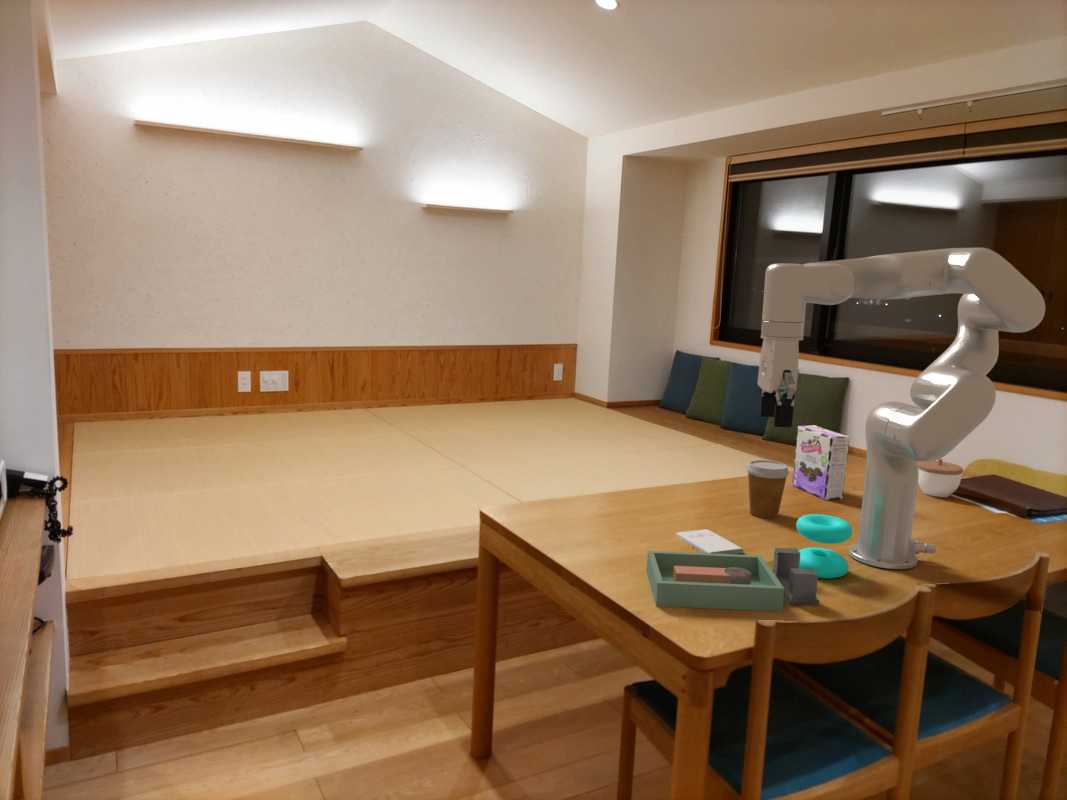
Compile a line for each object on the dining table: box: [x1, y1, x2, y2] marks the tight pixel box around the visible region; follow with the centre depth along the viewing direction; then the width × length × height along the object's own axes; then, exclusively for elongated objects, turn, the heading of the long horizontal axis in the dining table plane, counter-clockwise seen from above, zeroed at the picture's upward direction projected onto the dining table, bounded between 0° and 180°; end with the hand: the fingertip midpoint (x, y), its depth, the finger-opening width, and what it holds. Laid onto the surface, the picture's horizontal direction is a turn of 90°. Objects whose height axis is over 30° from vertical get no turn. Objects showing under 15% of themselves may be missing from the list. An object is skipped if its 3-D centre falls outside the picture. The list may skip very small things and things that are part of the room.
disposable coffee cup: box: [746, 459, 790, 519], centre depth 182 cm, size 10×10×12 cm
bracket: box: [771, 547, 820, 607], centre depth 139 cm, size 13×5×6 cm, turn 178°
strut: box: [673, 566, 751, 585], centre depth 138 cm, size 13×5×3 cm, turn 88°
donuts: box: [795, 513, 853, 579], centre depth 148 cm, size 10×10×10 cm
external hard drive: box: [675, 528, 744, 555], centre depth 161 cm, size 2×8×12 cm
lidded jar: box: [917, 458, 964, 498], centre depth 204 cm, size 11×11×9 cm
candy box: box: [791, 424, 851, 501], centre depth 202 cm, size 14×6×16 cm, turn 17°
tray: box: [646, 550, 784, 613], centre depth 138 cm, size 21×15×4 cm
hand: (775, 421), depth 148 cm, fingers open, 9 cm apart
